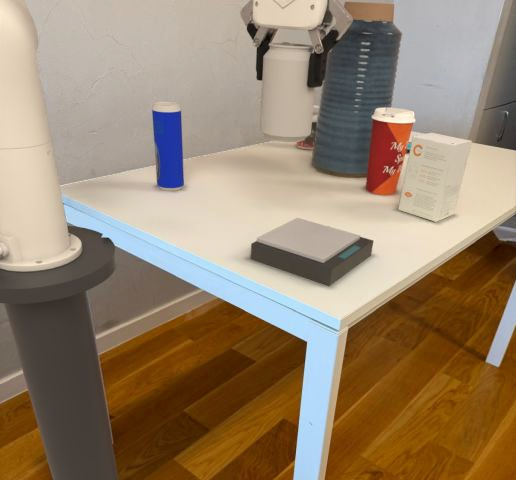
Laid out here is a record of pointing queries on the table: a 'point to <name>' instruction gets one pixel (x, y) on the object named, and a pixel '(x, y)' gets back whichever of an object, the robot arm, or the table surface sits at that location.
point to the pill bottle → (309, 140)
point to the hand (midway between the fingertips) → (288, 82)
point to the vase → (356, 89)
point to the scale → (311, 250)
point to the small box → (434, 175)
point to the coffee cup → (388, 148)
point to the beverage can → (168, 145)
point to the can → (286, 93)
